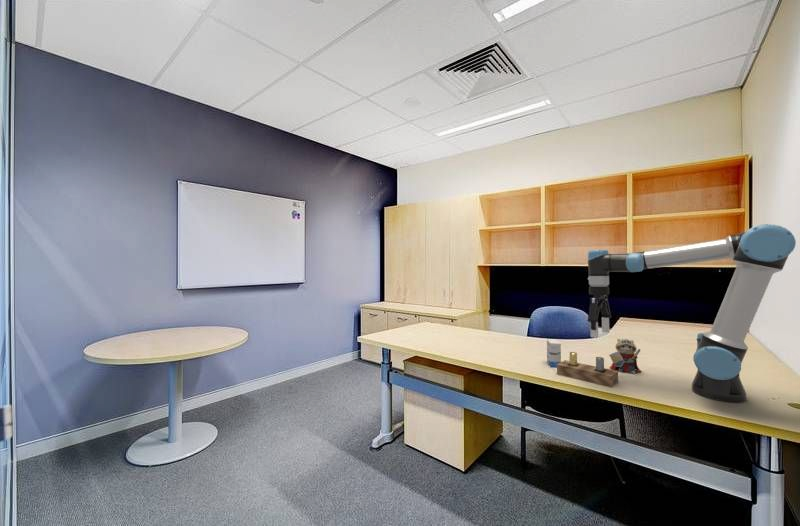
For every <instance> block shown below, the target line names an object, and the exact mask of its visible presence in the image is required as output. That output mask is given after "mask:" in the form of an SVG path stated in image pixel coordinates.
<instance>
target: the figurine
mask: <svg viewBox="0 0 800 526" xmlns="http://www.w3.org/2000/svg"><path fill="white" fill-rule="evenodd" d="M634 342H635V341H634V339H633V340H632V339H631V340H630V339H627V338H623V339H621V338H617V343H616V344H615V350H616V351H615V352H612V353H611V354H608V355H609V357H610V359H611V361H612V364H611V365H610V366H609V369H610V370H616V369H617V371H618V372H619V371H620V372H624V373H631V374H637V371H638V373H642V370H640V368H639V365H638V363H637V362H638V361H637V359H638V358H639V356H638V355H639V354H640V352H641V348H637V346H636V344H635V343H634Z"/></svg>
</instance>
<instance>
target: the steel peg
mask: <svg viewBox="0 0 800 526" xmlns="http://www.w3.org/2000/svg"><path fill="white" fill-rule="evenodd" d="M595 366H596V371H597V372H602V373H604V368H605V358H604V357H602V356H596V357H595Z"/></svg>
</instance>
